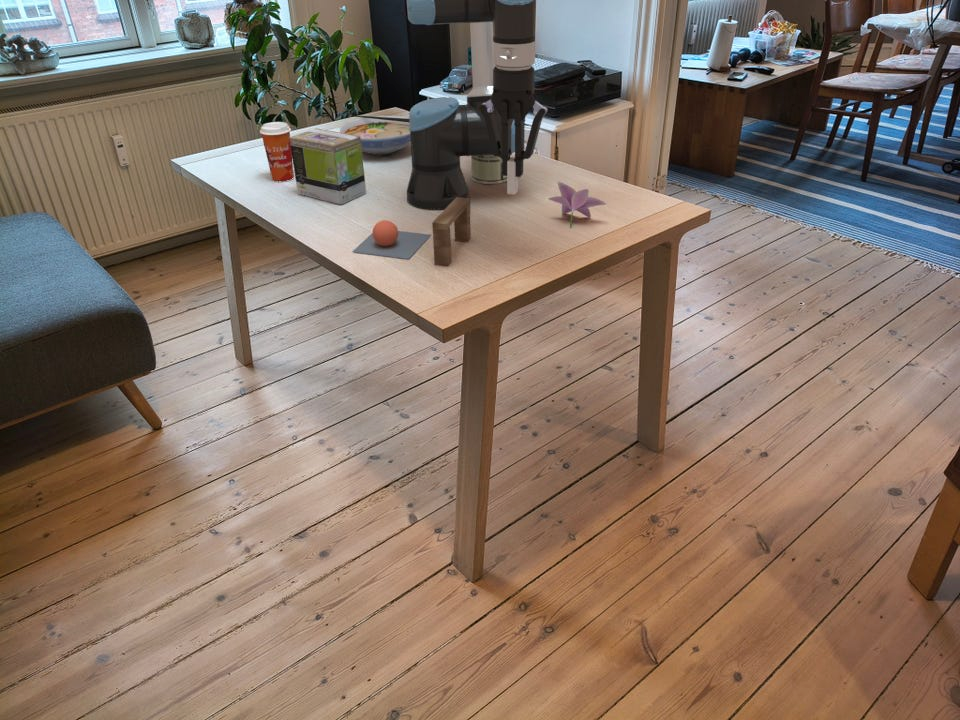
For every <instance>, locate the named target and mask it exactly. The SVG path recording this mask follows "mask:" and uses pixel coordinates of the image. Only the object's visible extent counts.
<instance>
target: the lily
mask: <svg viewBox="0 0 960 720" xmlns="http://www.w3.org/2000/svg"><path fill="white" fill-rule="evenodd" d="M557 186H558V189H559V193H560V195H559V196H557V195H556V196H552V197H548V198H547V200H549V201H551V202H555V203H558V204H561V213H562V214H568V213H571V214H570V215H571V216H570V220H569V221H570V223H569V229H572V224H573V223H572V222H573V215H574V212H575V211H577V212H578V213H581V214H582V215H583V216H585V217H587V218H589V217H592V214H591V211H590V209H589V208H592V207H597V206H604V205H607V203H606V202H605V201H604V200H601V199H599V198H596V197H592V196H589V193H590V192H589V191H590V190H589V189H588V188H584V189H580V190H578V191H576V190H575V189H574V188H573V187H572V186H569V185H568V184H566V183H564V182H562V181H558V182H557Z"/></svg>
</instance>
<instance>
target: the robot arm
mask: <svg viewBox="0 0 960 720" xmlns="http://www.w3.org/2000/svg"><path fill="white" fill-rule="evenodd" d="M536 5H537V0H406V8H407V9H406V10H407V19H408V22H410V23H411V24H413V25H425V26H432V25H446V24H447V25H450V24H452V25H453V24H454V25H455V24H469V28H470V31H469V33H470V52H471V54H470V56H471V75H472V89H471V90H470V92H469V93H468V94H467V95H466V104H460V102H459V100H458V99H457V98H455V97H452V96H450V97H446V96H443V97H435V98H430V99H426V100H422V101H420V102H418V103H416V104H415V105H413V106H412V107H411V108H410V110H409V114H408V116H409V117H408V118H409V131H410V139H411V142H410V156H411V173H410V177H409V181H408V184H407V189H406V200H407V202H408V204H410V205H411V206H413V207H414V208H419V209H423V210H445V209H446V208H447V207H448V206H449V205H450V203H451V202H452V201H453V200H454V199H455V198H456V197H460V198H469V188H468V185H467V182H466V180H465V176H464V173H463V171H462V168H461V157H471V156H478V155H494V156H498V157H500V158H501V159H502V173H503V176H507V181H506V182H507V183H506V184H507V185H506V186H507V188H506V193H507V195H513V196H514V195H516V194H517V192H518V191H519V178H521V177H522V176H523V175H524V160H528V159H530V158H531V157H532V156H533V154H534V152H535V147H536V144H537V141H538V136H539V133H540V128H541V125H542V121H543V118H544V117H545V115H546V114H547V113H548V111H549V107H548V106H547V105H542V104H540V102H538V101H537V96H536V94H535V70H536V69H535V68H534V66H533V65H534V64H535V62H536V61H535V59H536V9H537V6H536ZM532 109H533V112H532V114H533V116H534V117H533V120H532V124H531V127H530V131H529V134H528V138H527V143H526V147H525V130H526V128H525V125H526V124H525V123H526V117H527V115H528V114H529V113H530V112H531V110H532ZM513 153H514V156H512V154H513Z"/></svg>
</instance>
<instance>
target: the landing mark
mask: <svg viewBox="0 0 960 720" xmlns="http://www.w3.org/2000/svg"><path fill="white" fill-rule="evenodd" d="M430 237H432V234H430V233H429V234H428V233H420V232H414V231H413V232H412V231H402V230H398V238H397V240H396V242H395V243H393V244H392V245H390V246H381V245H379V244H378V243H376V241H375V240H374V238H373V234H372V233H371V234H369V236H367V237H366V238H365V239H364V240H363V241H362V242H360V243H359V245H357V247H355V248H354V249H353V250H352V252H354V253H353V254H361V255H369V256H375V257H385V258H391V259H392V258H393V259H401V260H406V261H407V260H408V261H409V260H410V259H411V258H412V257H413V256H414V255H415V254H416V252H417V251H419V250H420V248H422V246H423V245H424V244H425V243H426V242H427V241H428V239H430ZM352 252H351V253H352Z"/></svg>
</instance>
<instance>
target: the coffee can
mask: <svg viewBox="0 0 960 720" xmlns="http://www.w3.org/2000/svg"><path fill="white" fill-rule="evenodd" d="M470 157H471V162H470V163H471V164H470V166H471V167H470V168H471V175H470V176H471V177H470V178H471V180H472V181H474V182H476V183H477V184H478V183H479V184H482V185H483V184H484V185H485V184H486V185H496V184H502V183H505V182H507V176H503V173H502V159H501V158H500V157H498V156H494V155H478V156H470Z"/></svg>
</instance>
